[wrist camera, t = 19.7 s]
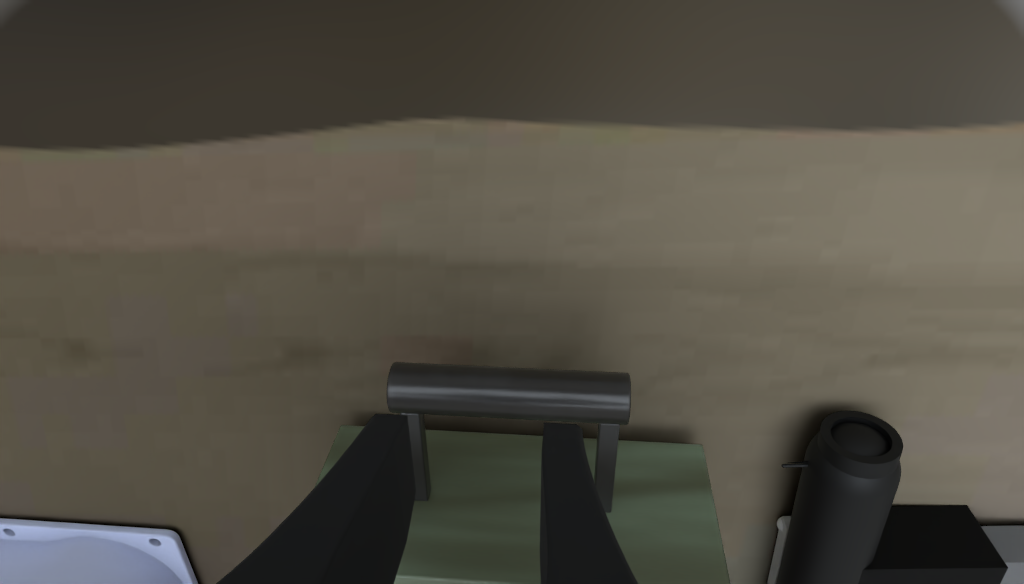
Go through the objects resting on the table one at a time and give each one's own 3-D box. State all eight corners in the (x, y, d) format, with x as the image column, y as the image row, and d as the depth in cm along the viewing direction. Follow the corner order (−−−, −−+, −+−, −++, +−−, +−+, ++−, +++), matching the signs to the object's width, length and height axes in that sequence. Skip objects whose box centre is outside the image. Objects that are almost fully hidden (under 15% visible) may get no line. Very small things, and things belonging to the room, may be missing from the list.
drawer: (318, 304, 24) (241, 437, 18) (725, 321, 23) (769, 466, 17) (379, 635, 34) (340, 782, 28) (663, 657, 33) (679, 814, 27)
